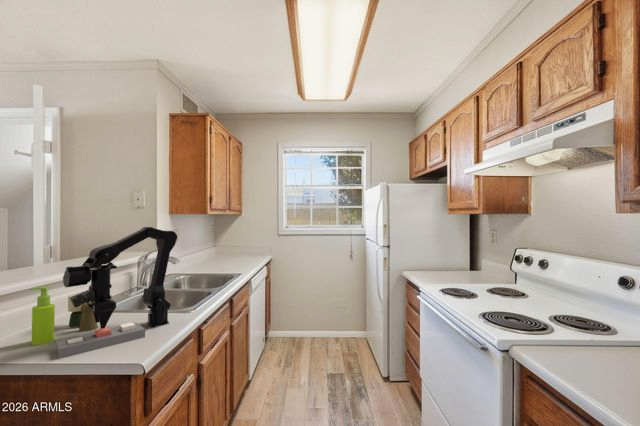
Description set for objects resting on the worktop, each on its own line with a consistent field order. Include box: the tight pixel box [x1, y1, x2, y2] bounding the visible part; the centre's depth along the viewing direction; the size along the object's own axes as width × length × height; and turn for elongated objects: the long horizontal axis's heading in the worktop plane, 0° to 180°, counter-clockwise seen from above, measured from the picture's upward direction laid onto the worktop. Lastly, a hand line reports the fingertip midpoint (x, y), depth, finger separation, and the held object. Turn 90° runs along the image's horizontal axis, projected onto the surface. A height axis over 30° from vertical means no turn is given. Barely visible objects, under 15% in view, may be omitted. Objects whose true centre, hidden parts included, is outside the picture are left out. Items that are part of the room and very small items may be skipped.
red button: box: [94, 327, 111, 338], centre depth 105 cm, size 4×4×3 cm
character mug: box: [67, 292, 82, 328], centre depth 124 cm, size 11×7×13 cm, turn 51°
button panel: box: [55, 322, 146, 360], centre depth 105 cm, size 24×10×4 cm, turn 136°
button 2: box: [119, 322, 135, 332], centre depth 111 cm, size 4×4×3 cm
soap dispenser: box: [29, 286, 56, 346], centre depth 107 cm, size 6×7×20 cm
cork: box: [78, 303, 99, 332], centre depth 119 cm, size 6×6×11 cm
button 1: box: [67, 337, 84, 345], centre depth 100 cm, size 4×4×3 cm
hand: (100, 325), depth 109 cm, fingers open, 9 cm apart
